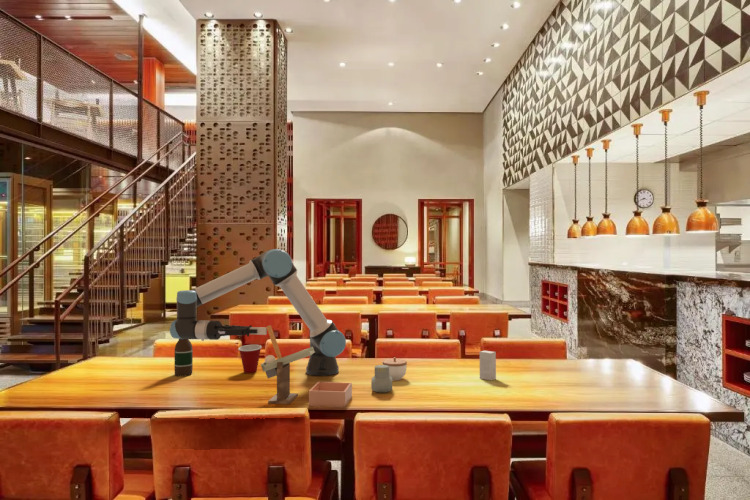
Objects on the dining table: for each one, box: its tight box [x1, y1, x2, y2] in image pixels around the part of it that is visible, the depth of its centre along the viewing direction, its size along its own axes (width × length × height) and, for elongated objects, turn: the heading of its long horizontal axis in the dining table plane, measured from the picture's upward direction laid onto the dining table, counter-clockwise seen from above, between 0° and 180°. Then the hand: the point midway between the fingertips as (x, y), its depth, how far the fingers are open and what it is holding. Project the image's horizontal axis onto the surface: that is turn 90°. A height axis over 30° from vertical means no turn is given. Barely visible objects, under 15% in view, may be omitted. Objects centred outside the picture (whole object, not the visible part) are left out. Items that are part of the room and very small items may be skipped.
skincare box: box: [478, 350, 497, 381], centre depth 224 cm, size 6×4×12 cm
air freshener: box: [370, 364, 393, 394], centre depth 205 cm, size 11×8×10 cm
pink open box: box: [308, 381, 353, 408], centre depth 190 cm, size 13×13×6 cm
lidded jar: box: [382, 357, 408, 381], centre depth 225 cm, size 11×11×9 cm
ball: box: [264, 354, 276, 364], centre depth 193 cm, size 4×4×4 cm
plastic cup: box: [238, 344, 263, 374], centre depth 238 cm, size 11×11×12 cm
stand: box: [267, 362, 299, 405], centre depth 193 cm, size 8×11×15 cm
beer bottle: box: [174, 339, 194, 377], centre depth 233 cm, size 8×8×24 cm
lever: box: [260, 324, 315, 379], centre depth 194 cm, size 20×10×18 cm, turn 82°
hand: (266, 331), depth 199 cm, fingers closed
